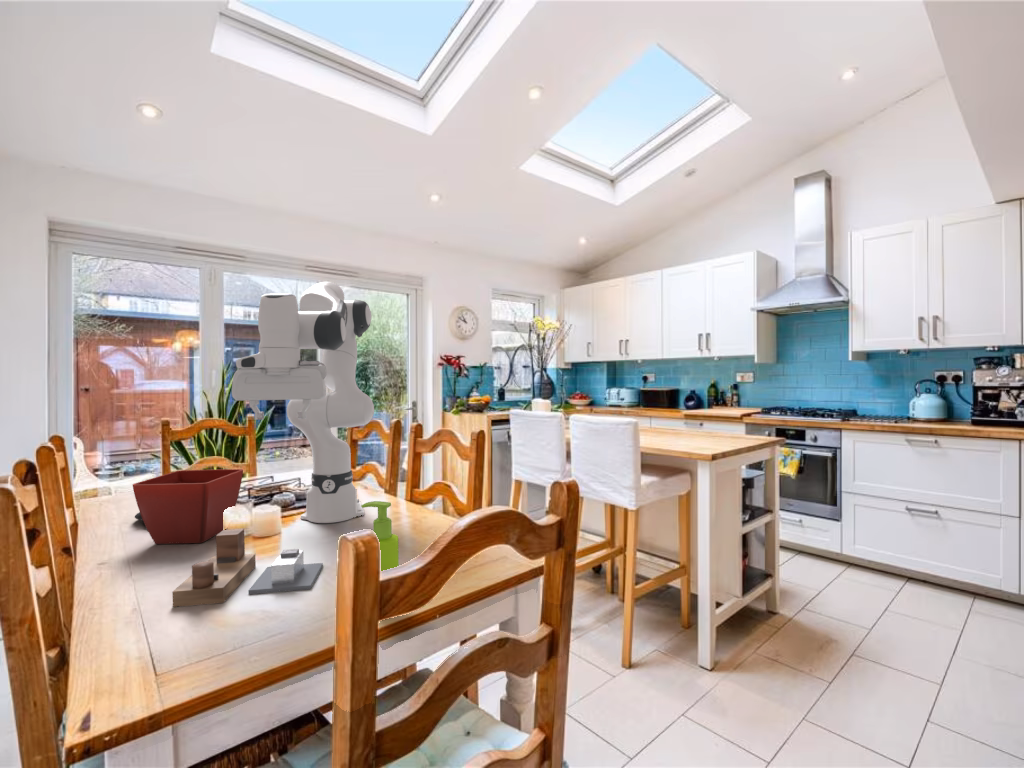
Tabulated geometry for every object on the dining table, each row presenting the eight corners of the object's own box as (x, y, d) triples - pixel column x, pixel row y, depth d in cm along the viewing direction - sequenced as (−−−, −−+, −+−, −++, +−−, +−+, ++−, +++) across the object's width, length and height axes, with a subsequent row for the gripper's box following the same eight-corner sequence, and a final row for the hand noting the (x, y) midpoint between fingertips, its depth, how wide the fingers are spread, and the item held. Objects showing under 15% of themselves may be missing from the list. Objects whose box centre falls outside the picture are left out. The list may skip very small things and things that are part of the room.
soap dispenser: (370, 597, 96) (369, 497, 95) (403, 599, 95) (402, 499, 94) (356, 611, 90) (355, 506, 90) (391, 614, 89) (390, 507, 89)
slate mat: (267, 570, 109) (267, 566, 109) (322, 566, 111) (322, 562, 111) (248, 594, 97) (248, 590, 97) (310, 589, 100) (310, 585, 100)
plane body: (213, 569, 110) (212, 530, 110) (255, 566, 112) (254, 528, 111) (172, 607, 92) (171, 560, 92) (223, 602, 94) (222, 557, 94)
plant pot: (180, 525, 142) (178, 469, 142) (245, 524, 143) (244, 468, 142) (131, 549, 123) (129, 484, 122) (207, 548, 124) (206, 483, 123)
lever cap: (282, 569, 108) (282, 548, 108) (303, 567, 109) (303, 546, 109) (271, 584, 100) (271, 561, 100) (293, 582, 101) (293, 560, 101)
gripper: (328, 361, 118) (329, 416, 119) (239, 361, 115) (240, 418, 115) (323, 360, 112) (324, 419, 112) (228, 360, 109) (229, 421, 109)
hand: (280, 419), depth 114 cm, fingers open, 8 cm apart
